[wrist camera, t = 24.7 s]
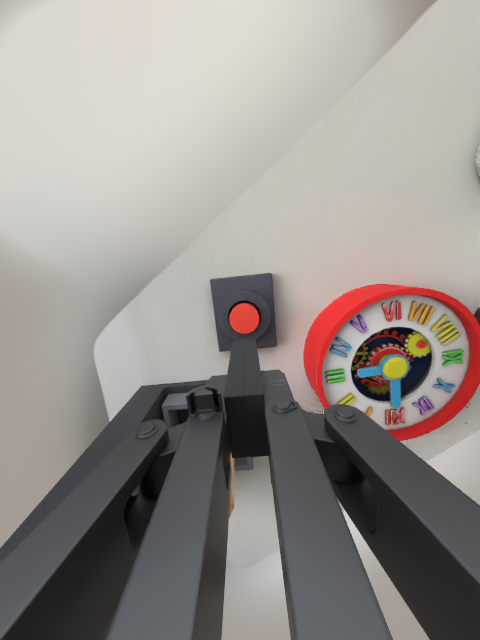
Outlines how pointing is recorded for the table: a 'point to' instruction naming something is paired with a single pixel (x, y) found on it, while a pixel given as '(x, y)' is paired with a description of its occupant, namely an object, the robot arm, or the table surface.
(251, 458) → the coffee maker
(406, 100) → the table surface
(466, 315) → the toy clock
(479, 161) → the air freshener
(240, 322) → the button
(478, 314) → the travel mug
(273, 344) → the switch block
